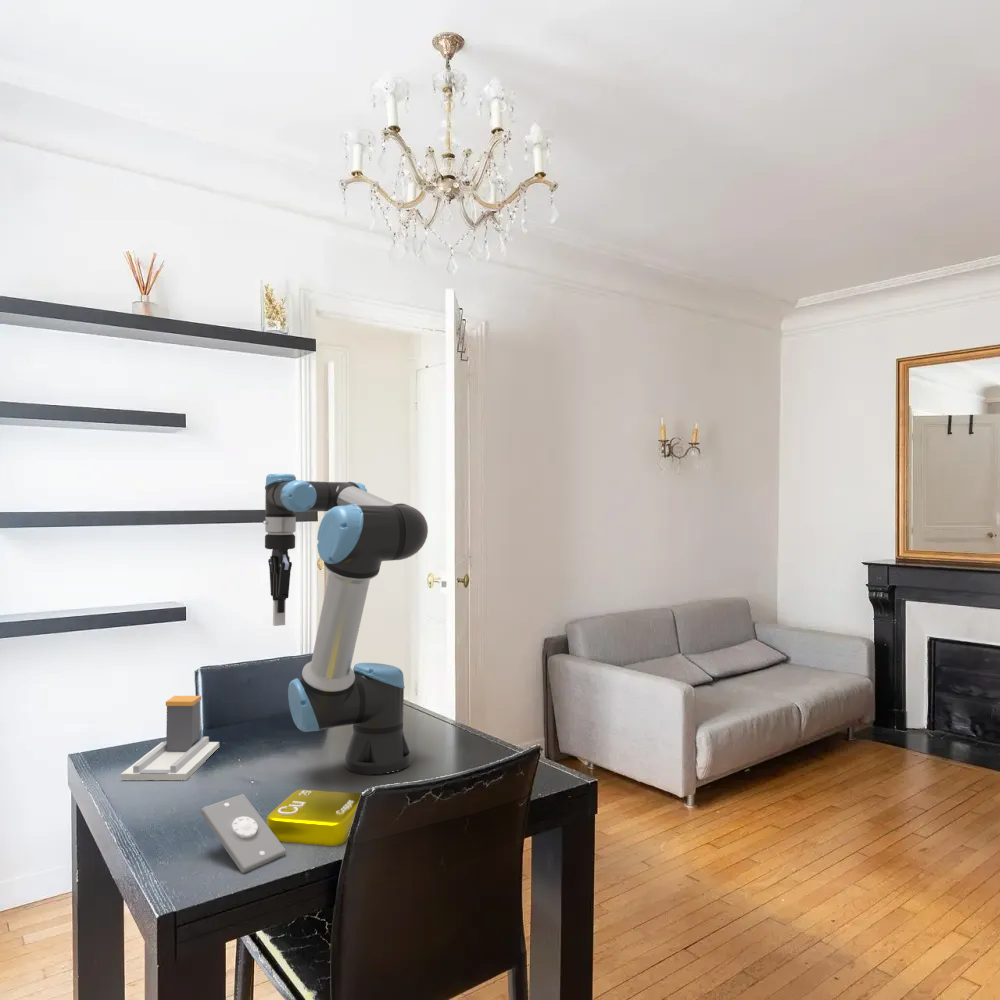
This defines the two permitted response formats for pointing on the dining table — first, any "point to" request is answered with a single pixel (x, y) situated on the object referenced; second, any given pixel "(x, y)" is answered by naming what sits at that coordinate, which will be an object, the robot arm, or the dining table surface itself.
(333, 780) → the dining table surface
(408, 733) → the dining table surface
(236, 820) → the light switch
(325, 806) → the element tile
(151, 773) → the railed base plate
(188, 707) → the handle
